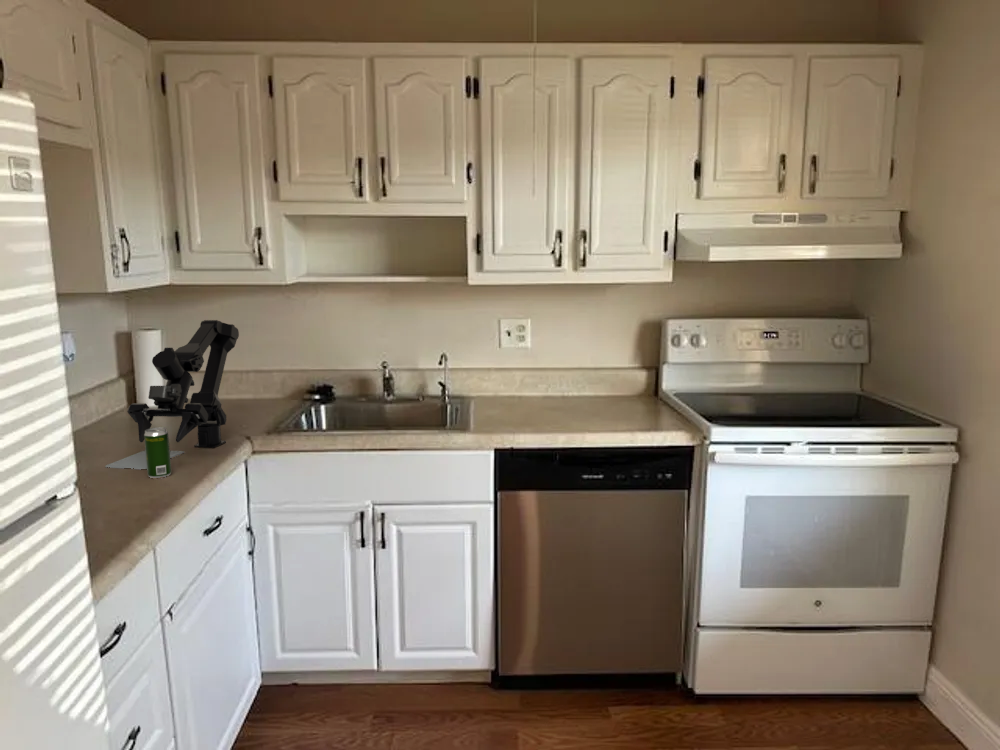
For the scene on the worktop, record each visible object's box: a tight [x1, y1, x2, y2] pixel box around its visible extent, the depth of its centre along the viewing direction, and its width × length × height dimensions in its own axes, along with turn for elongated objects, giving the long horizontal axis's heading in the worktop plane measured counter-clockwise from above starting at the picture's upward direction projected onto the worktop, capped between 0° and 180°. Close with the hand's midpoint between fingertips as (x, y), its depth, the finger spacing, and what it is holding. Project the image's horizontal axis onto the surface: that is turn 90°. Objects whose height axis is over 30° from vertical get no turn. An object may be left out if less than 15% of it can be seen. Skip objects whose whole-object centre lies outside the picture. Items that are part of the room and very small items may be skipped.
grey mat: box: [105, 449, 186, 470], centre depth 189 cm, size 16×12×1 cm
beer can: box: [144, 426, 172, 479], centre depth 174 cm, size 5×5×12 cm
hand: (158, 441), depth 174 cm, fingers open, 9 cm apart
